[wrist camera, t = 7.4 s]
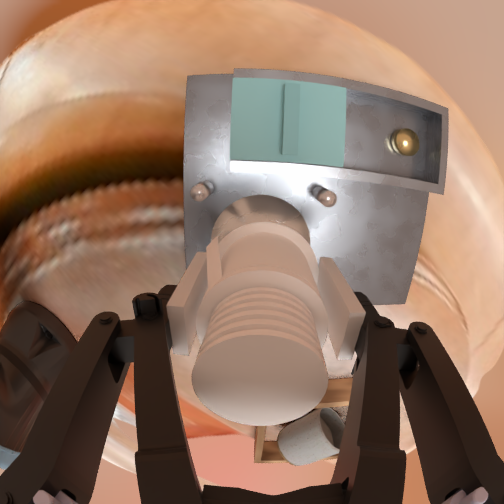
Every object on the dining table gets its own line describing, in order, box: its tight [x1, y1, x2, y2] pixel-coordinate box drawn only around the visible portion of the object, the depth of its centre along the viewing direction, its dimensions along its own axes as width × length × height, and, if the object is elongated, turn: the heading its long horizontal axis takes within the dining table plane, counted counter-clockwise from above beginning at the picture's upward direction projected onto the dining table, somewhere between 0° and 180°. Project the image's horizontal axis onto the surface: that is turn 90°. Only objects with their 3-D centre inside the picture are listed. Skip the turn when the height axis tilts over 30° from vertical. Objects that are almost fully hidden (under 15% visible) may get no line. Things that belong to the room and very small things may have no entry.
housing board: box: [184, 69, 448, 305], centre depth 21 cm, size 22×20×5 cm
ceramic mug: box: [277, 407, 345, 466], centre depth 31 cm, size 11×8×8 cm
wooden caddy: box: [254, 378, 353, 463], centre depth 32 cm, size 15×17×4 cm
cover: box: [229, 78, 346, 167], centre depth 17 cm, size 8×6×2 cm
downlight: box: [192, 222, 328, 426], centre depth 13 cm, size 8×7×10 cm
